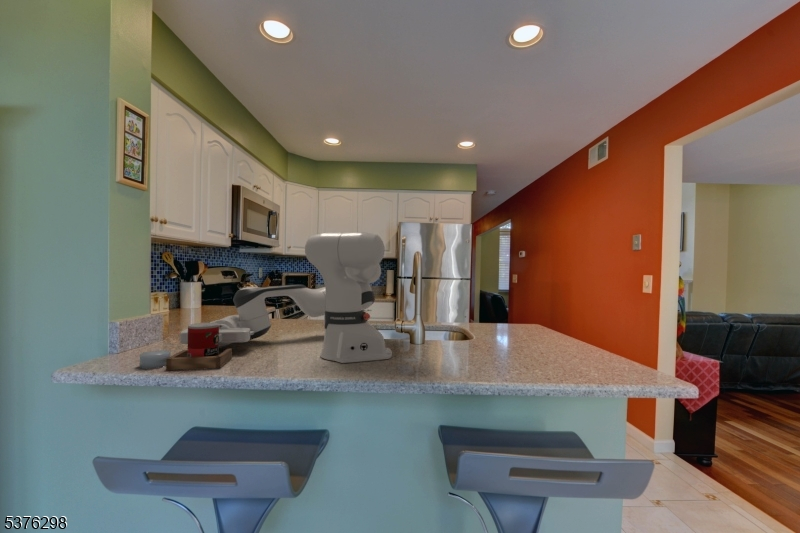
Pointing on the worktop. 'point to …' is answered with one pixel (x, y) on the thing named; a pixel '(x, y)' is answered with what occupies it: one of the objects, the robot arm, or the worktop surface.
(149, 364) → the grey rounded cylinder
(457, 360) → the worktop surface
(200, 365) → the bay
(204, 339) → the canned food
